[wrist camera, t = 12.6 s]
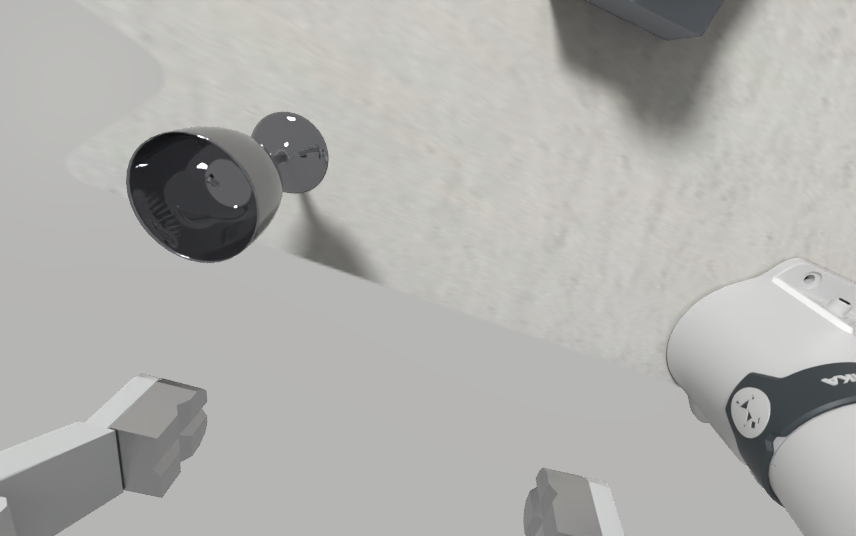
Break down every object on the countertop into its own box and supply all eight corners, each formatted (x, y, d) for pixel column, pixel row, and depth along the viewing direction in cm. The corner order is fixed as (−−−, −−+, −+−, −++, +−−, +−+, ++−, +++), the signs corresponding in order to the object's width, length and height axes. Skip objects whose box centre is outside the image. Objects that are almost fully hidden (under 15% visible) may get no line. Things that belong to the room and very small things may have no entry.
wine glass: (333, 112, 38) (253, 140, 24) (332, 202, 41) (261, 271, 28) (242, 101, 38) (113, 123, 25) (248, 191, 41) (138, 254, 28)
